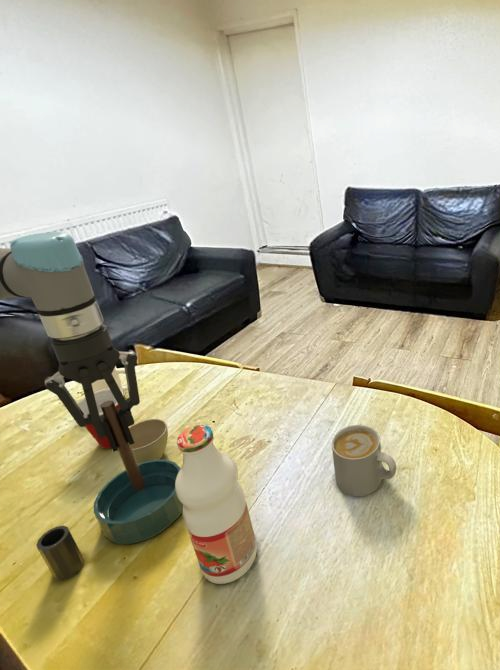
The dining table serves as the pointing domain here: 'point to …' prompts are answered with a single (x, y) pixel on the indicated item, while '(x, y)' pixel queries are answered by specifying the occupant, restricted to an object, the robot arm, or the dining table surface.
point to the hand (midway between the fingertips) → (122, 443)
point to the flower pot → (149, 439)
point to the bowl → (139, 503)
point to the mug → (102, 383)
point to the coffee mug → (360, 460)
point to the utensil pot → (60, 553)
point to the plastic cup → (100, 398)
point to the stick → (123, 445)
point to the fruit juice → (214, 507)
